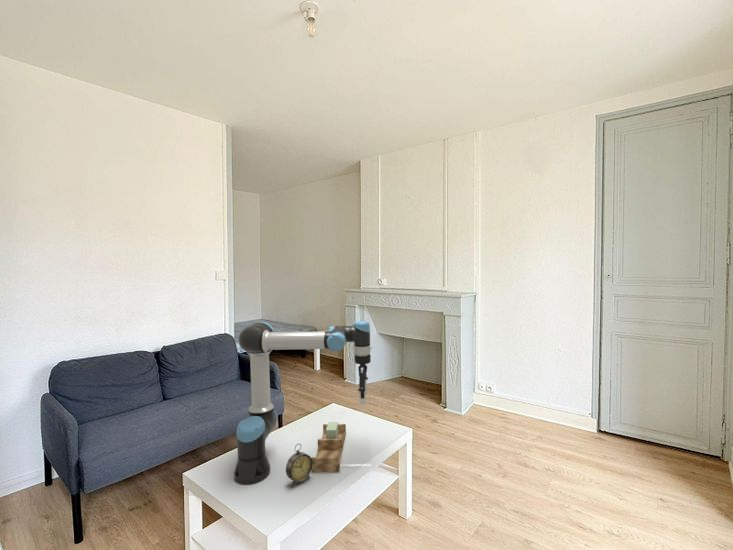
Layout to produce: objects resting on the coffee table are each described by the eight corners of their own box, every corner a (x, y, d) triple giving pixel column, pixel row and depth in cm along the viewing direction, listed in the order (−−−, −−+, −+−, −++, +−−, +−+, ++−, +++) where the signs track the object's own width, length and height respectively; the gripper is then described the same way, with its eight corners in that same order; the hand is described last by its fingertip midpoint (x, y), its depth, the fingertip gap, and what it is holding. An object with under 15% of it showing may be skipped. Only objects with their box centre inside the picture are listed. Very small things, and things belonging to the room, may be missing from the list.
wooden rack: (311, 472, 155) (311, 458, 155) (323, 435, 188) (323, 424, 188) (338, 472, 154) (338, 458, 154) (345, 435, 187) (345, 423, 187)
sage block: (326, 445, 175) (325, 430, 174) (329, 436, 184) (328, 421, 183) (336, 445, 174) (335, 430, 174) (338, 436, 183) (338, 421, 183)
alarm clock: (291, 490, 143) (290, 451, 142) (284, 484, 147) (283, 446, 146) (313, 478, 150) (312, 441, 150) (306, 473, 154) (305, 436, 154)
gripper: (369, 361, 152) (370, 409, 152) (371, 347, 176) (372, 389, 177) (352, 361, 152) (353, 410, 153) (356, 347, 177) (357, 389, 177)
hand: (363, 399), depth 165 cm, fingers open, 13 cm apart
